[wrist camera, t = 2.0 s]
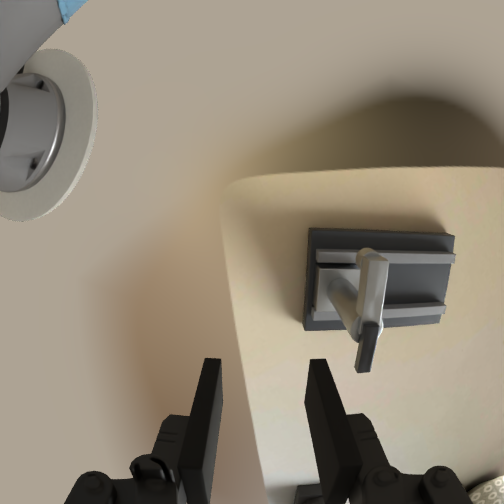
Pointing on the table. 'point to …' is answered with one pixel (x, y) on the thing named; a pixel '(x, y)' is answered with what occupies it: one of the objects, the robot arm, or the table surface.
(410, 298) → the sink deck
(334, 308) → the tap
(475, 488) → the planter
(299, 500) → the button box
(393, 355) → the table surface
